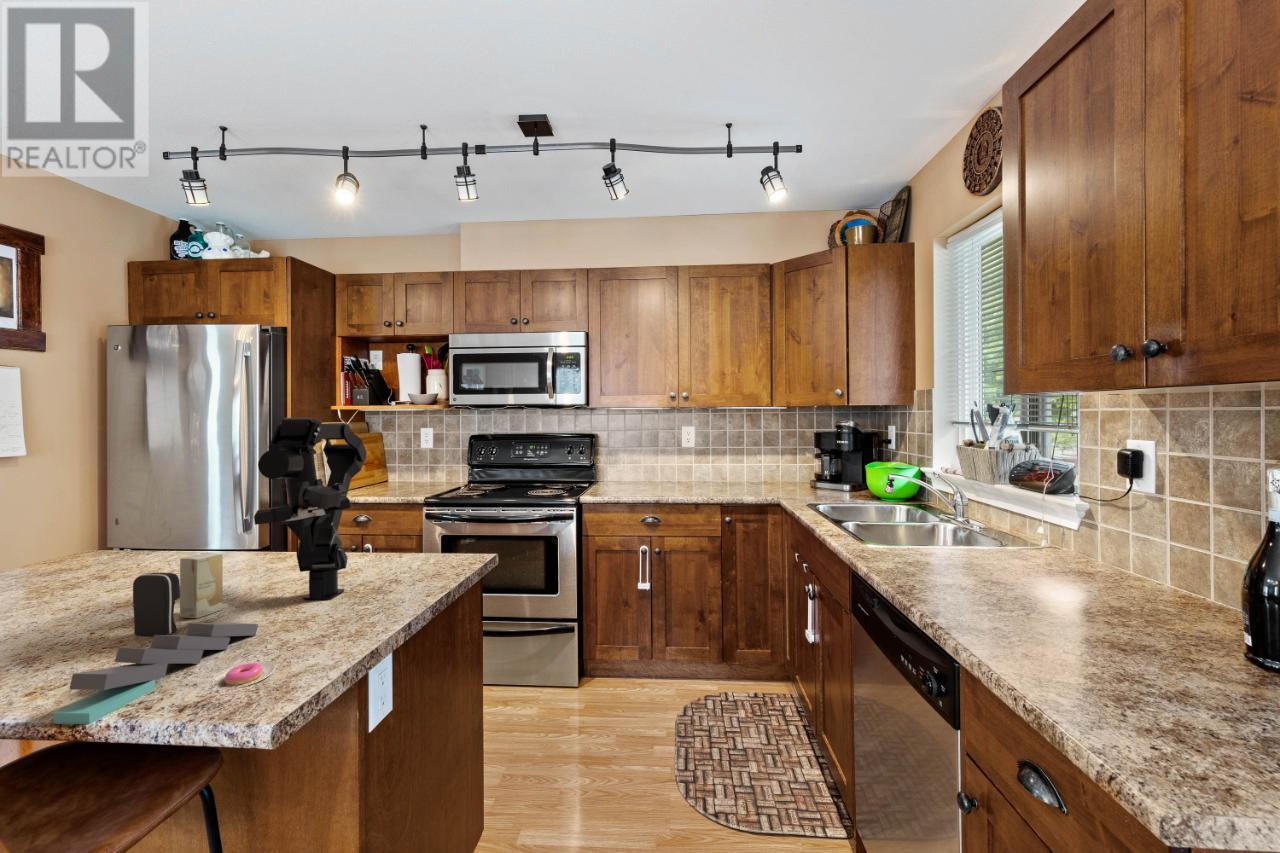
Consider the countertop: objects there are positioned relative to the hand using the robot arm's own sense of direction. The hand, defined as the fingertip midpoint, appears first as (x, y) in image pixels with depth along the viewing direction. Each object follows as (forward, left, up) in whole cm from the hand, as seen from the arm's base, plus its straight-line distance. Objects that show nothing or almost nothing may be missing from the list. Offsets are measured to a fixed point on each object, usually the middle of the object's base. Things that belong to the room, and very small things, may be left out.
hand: (310, 550), depth 122 cm
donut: (+30, +7, -14) cm, 33 cm away
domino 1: (+33, -6, -11) cm, 35 cm away
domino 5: (+12, -5, -12) cm, 18 cm away
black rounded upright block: (+12, -23, -13) cm, 29 cm away
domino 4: (+19, -6, -12) cm, 23 cm away
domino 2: (+35, -6, -13) cm, 38 cm away
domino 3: (+25, -6, -12) cm, 28 cm away
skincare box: (+1, -23, -13) cm, 26 cm away
